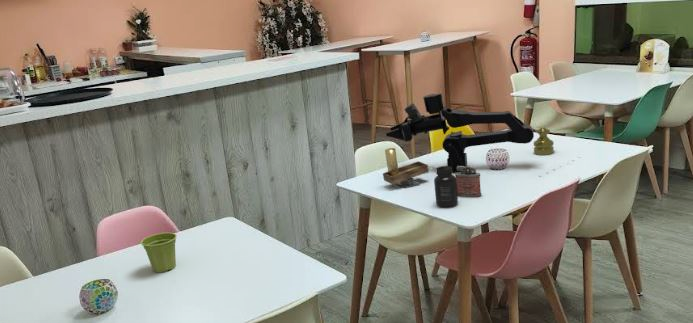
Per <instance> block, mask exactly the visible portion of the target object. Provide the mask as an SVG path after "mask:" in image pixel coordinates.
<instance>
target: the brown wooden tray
mask: <svg viewBox="0 0 693 323" xmlns="http://www.w3.org/2000/svg"><path fill="white" fill-rule="evenodd" d="M398 171H399V174H398V175H395V176H392V177H391V176H389V174H388V171H386V172H383V173H382V175H383V181H384V182H387V184H391V185H396V184H395V183H398V182H401V181H404V180H407V179H410V178H413V179H414V178H415V177H417V176H421V175H424V174H427V173H429V171H430V170H429V167H428V164H426V163H424V162H421V161H416V162H413V163H408V164H406V165H403V166H400V167H398Z"/></svg>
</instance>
